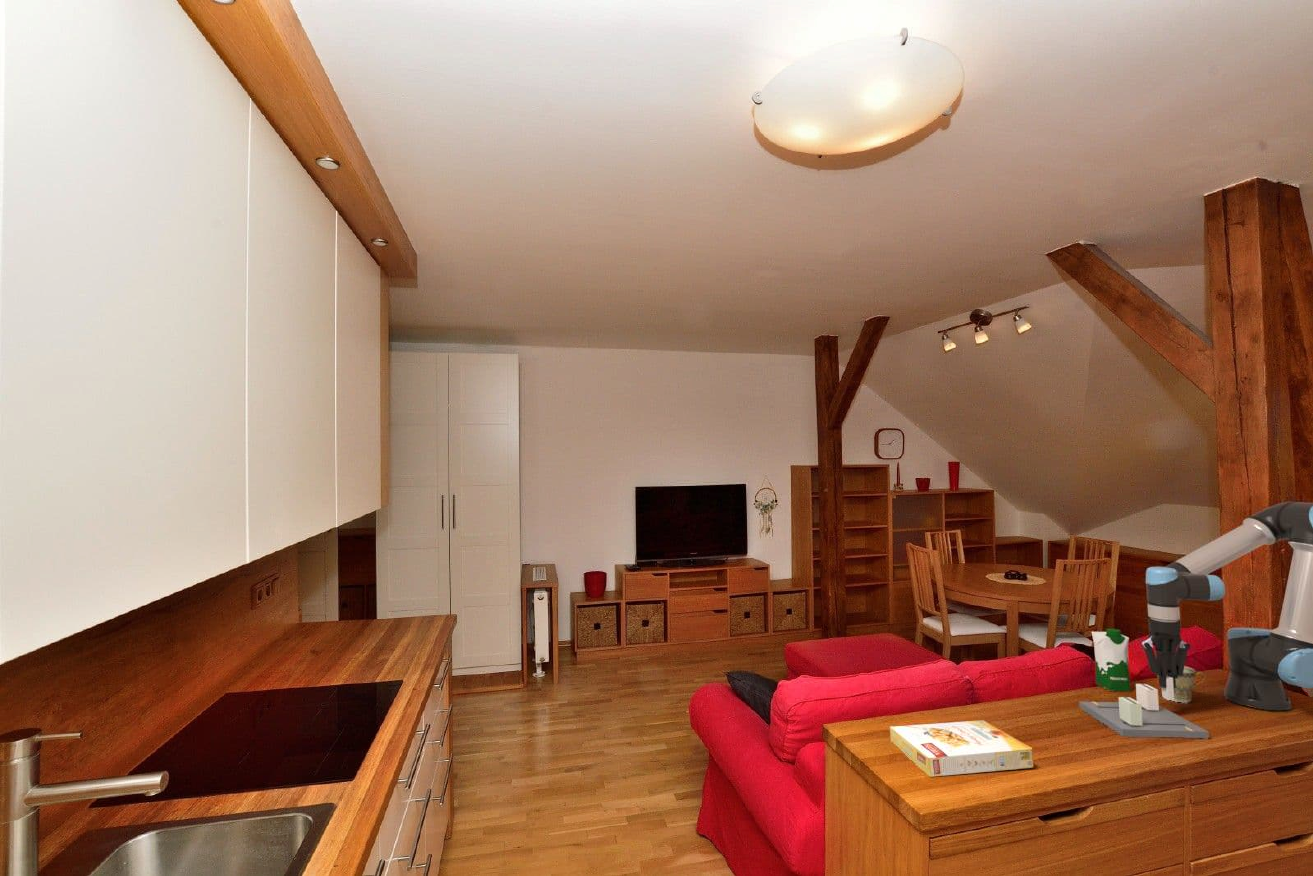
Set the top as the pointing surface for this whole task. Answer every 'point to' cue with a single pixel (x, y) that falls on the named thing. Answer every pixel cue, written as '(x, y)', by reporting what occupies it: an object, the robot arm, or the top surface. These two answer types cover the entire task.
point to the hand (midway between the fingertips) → (1168, 698)
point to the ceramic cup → (1185, 685)
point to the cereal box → (961, 748)
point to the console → (1144, 722)
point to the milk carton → (1111, 660)
